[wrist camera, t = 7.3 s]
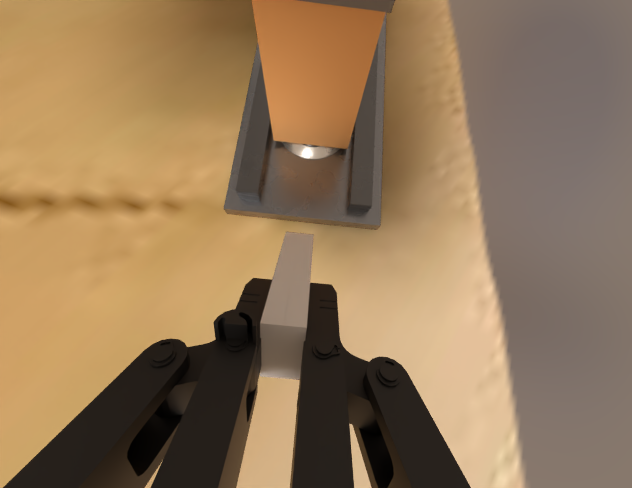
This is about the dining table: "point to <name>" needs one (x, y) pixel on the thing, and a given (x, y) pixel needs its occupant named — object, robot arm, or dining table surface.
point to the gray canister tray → (310, 162)
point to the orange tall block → (317, 64)
